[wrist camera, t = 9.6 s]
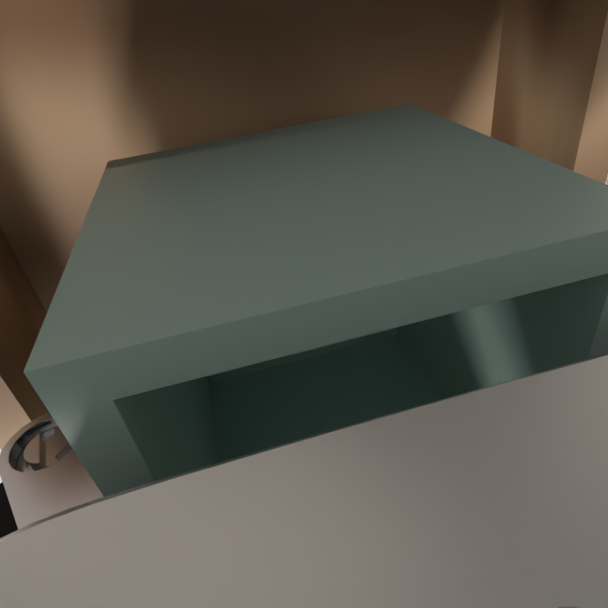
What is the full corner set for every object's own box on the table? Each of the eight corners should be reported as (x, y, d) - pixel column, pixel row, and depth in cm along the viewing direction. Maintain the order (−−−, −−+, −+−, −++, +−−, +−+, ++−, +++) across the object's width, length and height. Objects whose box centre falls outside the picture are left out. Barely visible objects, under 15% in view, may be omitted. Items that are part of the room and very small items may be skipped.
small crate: (107, 161, 10) (23, 372, 4) (409, 103, 11) (676, 213, 5) (192, 389, 14) (207, 657, 8) (407, 333, 15) (556, 540, 9)
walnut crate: (-186, -54, 9) (-423, -93, 6) (531, -141, 11) (706, -214, 8) (106, 451, 18) (90, 564, 15) (474, 352, 20) (542, 428, 17)
